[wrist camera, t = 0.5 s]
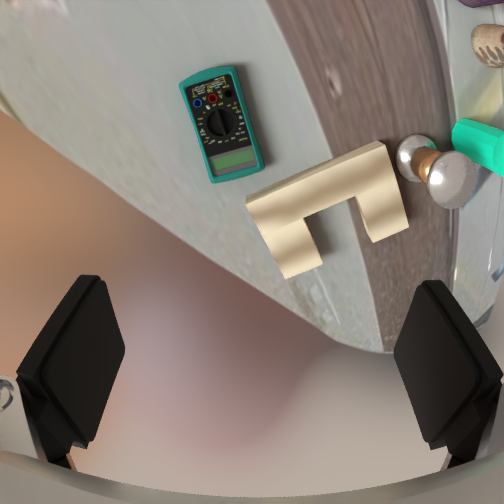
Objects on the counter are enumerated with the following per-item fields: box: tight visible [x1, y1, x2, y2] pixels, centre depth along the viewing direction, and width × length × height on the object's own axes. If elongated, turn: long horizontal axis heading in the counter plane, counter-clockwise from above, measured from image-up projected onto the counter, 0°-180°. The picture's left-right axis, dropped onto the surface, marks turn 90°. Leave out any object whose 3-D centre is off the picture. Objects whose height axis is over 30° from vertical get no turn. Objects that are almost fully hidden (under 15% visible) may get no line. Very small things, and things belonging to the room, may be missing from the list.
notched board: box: [246, 141, 409, 279], centre depth 44 cm, size 13×20×3 cm, turn 116°
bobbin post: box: [395, 134, 477, 209], centre depth 36 cm, size 7×7×11 cm
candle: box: [452, 119, 504, 176], centre depth 33 cm, size 6×6×12 cm
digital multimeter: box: [179, 66, 264, 183], centre depth 39 cm, size 7×15×3 cm, turn 16°
